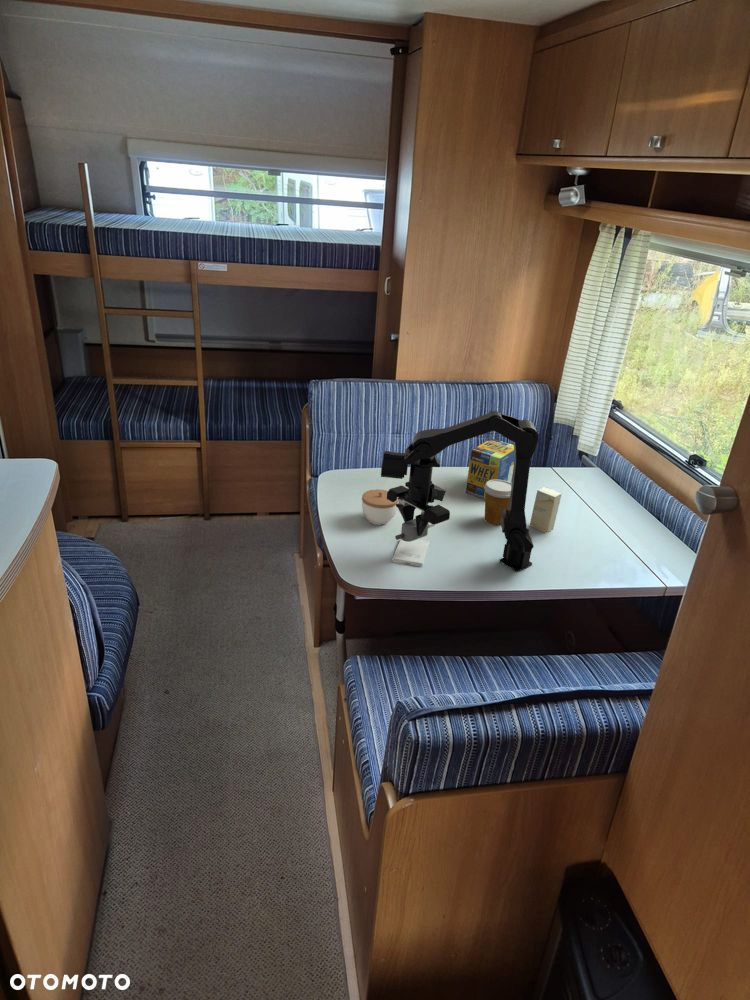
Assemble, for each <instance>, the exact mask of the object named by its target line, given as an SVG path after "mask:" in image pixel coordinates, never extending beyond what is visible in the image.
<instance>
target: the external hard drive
mask: <svg viewBox="0 0 750 1000" xmlns="http://www.w3.org/2000/svg"><path fill="white" fill-rule="evenodd" d="M429 547H430V541H429V540H423V539H416V540H413V541H410V542H407V541H403V540H402V539H399V542H398V545H397V546H396V549H395V552H394V554H393V557H392V562H393V563H394V562H395V563H399V564H405V565H411V566H415V565H416V567H421V566H422V567H423V565H424V562H425V560H426V557H427V553H428V549H429Z"/></svg>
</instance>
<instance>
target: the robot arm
mask: <svg viewBox="0 0 750 1000" xmlns="http://www.w3.org/2000/svg"><path fill="white" fill-rule="evenodd" d="M491 432H495V433H497V434H500V435H501V436H502V437H504V438H505V439H507V440H509V441H511V442H512V443H513V444H512V445H513V446H514V454H515V457H514V467H513V476H512V485H511V495H510V504H509V506H508V508H507V510H505V509H502V518H501V520H500V523H501V525H500V528H501V532H502V534H504V538H505V540H506V542H505V544H504V546H503V552H502V558H500V559H499V562H500V563H502V564H503V565H505V566H507V567H508V568H511V569H512V570H514V571H516V572H520V571H522V570H525V569H526V568H529V567H530V566H533V562H531V561H530V559H531V555H532V549H533V548H534V543H533V539H532V536H531V532H530V529H528V527H527V519H526V510H525V509H526V500H527V492H528V484H529V476H530V468H531V461H532V458H533V456H534V454H535V453H536V449H537V448H538V447H537V446H538V444H539V440H540V439H539V434H538V430H537V429H536V426H535V424H534V423H533V422H532V421H530V420H528V419H521V420H520V419H518V418H517V417H514V416H510V415H507V414H503V413H502V412H499V411H498V410H491V411H489V412H488V413H485V414H483V415H480V416H476V417H474V418H471V419H469V420H465V421H462V422H459V423H455V424H454V425H450V426H448V427H444V428H429V429H424V430H419V431H417V432H416V433H415V434H414V436H413V439H412V442H411V443H410V444H409V445H408V446H407V447H406V448H405V450H404V453H403V452H395V451H389V450H384V451H383V457H382V462H381V469H380V477H381V478H390V479H401V480H402V479H405V476H408V467H409V468H410V469H409V478H408V481H406V482H405V484H404V485H405V486H404V485H399V486H396V487H392V488H389V489H388V490H387V491H388V492H387V499H388V500H390V501H391V502H395V501H396V500H397V497H398V504H396V507H397V510H398V511H399V513H400V514H401V517H402V520H403V523H404V522H407V521H410V520H413V519H415V518H416V527H417V534H418V536H421V535H422V533H423V531H424V530H425V528H426V526H427V524H428V522H429V523H431V524H435V525H438V524H440V523H444V522H446V521H448V520H450V514H451V512H450V510H449V509H448V508H446V507H444V506H442V505H440V504H436V505H431V504H433V503H434V502H435V501H439V502H443V501H444V497H445V495H446V492H447V490H446V489H444V488H442V487H440V486H438V485H436V484H434V483H433V480H432V476H433V475H432V474H433V468H440V467H441V460H440V459H439V458H438V457H437V455H438V454H441V452H442V451H444V450H445V449H446V448H448V447H450V446H452V445H455V444H457V443H458V444H459V443H461V442H464V441H468V440H470V439H473V438H476V437H478V436H481V435H484V434H485V435H486V434H488V433H491ZM409 465H410V466H409ZM429 503H430V505H429ZM416 509H417V510H419V511H421V512H420V514H417V515H415V510H416ZM414 517H415V518H414Z"/></svg>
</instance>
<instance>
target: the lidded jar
mask: <svg viewBox="0 0 750 1000" xmlns="http://www.w3.org/2000/svg"><path fill="white" fill-rule="evenodd" d="M388 491H389V490H386V489H378V488H377V489H370V490H367V491H365V492H363V494H362V495H361V500H362V501H361V508H362V513H363V515H364V517H365V518H366V519H367V520H369V521H368V522H369V523H370V522H371V523H370V524H372V523H373V525H376V524H377V525H376V526H382V525H381V524H384V525H387V524H388V523H389V522H390V521H391V520H393V518H394V517H395V515H396V512H397V510H398V507H396V504H398V497H397V500H396V501H395V502H391V501H390V500H388V499H387V492H388ZM386 523H387V524H386Z"/></svg>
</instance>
